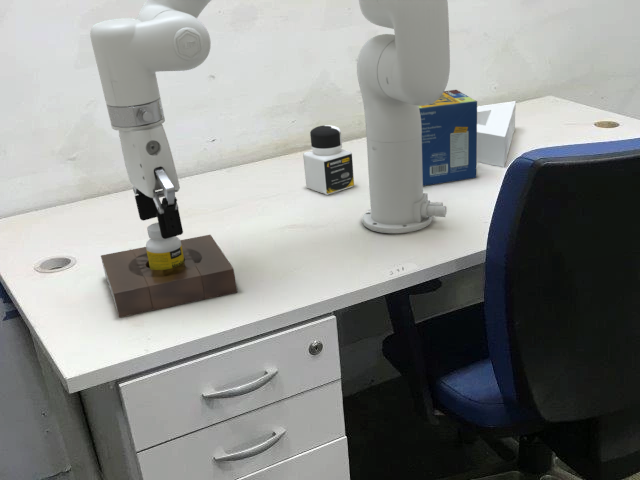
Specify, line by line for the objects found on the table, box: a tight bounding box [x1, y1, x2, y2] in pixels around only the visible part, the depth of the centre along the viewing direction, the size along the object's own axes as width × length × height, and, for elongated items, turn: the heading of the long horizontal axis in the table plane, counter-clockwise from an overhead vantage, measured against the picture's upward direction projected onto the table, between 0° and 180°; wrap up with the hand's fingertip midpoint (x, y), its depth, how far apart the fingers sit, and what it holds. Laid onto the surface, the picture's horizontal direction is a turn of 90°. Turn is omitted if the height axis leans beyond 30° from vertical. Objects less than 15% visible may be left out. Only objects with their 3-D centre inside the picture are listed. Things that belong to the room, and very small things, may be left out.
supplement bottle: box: [145, 222, 184, 270], centre depth 131 cm, size 5×5×10 cm
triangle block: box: [477, 100, 517, 168], centre depth 191 cm, size 30×26×6 cm
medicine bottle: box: [302, 124, 355, 196], centre depth 167 cm, size 7×7×12 cm
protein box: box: [419, 89, 478, 187], centre depth 169 cm, size 10×15×16 cm
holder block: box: [100, 234, 238, 318], centre depth 133 cm, size 18×16×4 cm
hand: (161, 226), depth 129 cm, fingers open, 9 cm apart
